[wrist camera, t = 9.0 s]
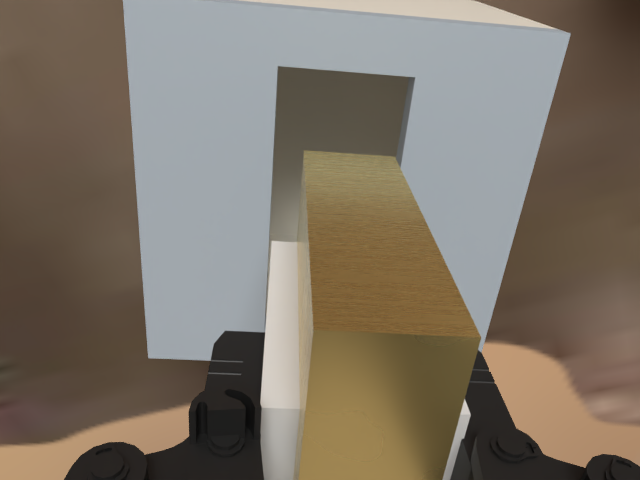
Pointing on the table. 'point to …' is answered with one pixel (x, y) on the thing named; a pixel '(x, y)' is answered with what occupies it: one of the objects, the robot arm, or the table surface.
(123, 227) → the table surface
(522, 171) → the coin box
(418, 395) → the block
